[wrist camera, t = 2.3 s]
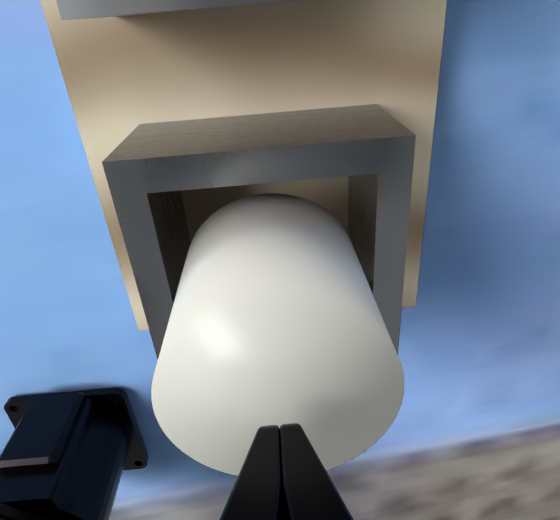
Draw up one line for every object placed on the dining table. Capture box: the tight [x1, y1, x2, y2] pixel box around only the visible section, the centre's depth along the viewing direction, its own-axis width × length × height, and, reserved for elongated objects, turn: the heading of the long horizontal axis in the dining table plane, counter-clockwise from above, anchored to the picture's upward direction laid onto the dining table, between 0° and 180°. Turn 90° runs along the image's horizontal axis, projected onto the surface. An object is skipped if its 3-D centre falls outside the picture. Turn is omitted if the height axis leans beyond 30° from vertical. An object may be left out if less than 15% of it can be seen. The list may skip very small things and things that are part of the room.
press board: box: [40, 0, 447, 331], centre depth 16 cm, size 22×13×2 cm, turn 4°
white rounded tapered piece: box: [151, 193, 404, 476], centre depth 12 cm, size 6×6×6 cm
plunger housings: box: [56, 0, 416, 359], centre depth 13 cm, size 21×9×4 cm, turn 4°
